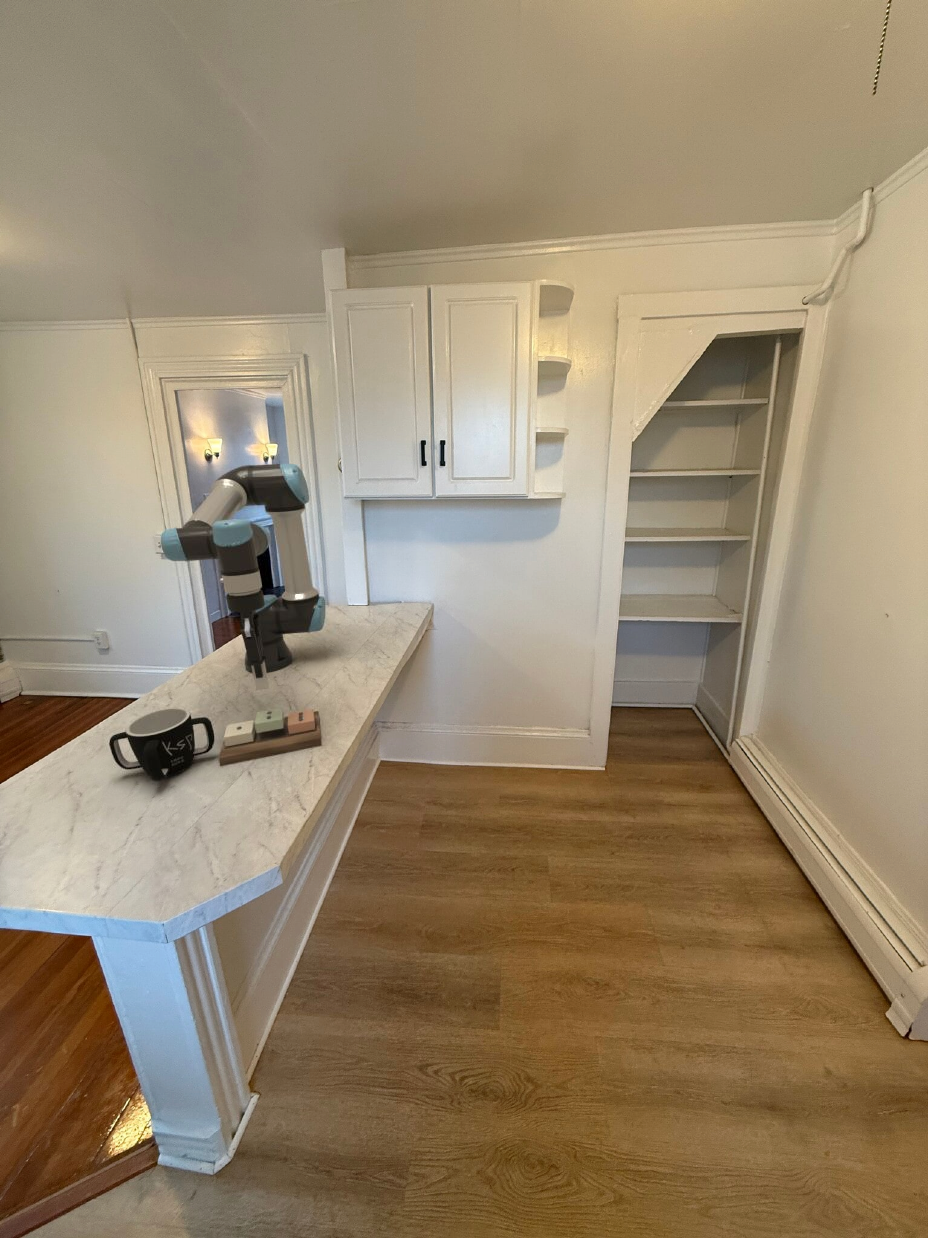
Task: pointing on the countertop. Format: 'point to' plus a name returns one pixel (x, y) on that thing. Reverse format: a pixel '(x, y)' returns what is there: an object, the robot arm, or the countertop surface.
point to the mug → (162, 742)
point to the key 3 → (301, 721)
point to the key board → (271, 743)
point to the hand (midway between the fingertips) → (262, 688)
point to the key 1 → (239, 733)
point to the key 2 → (269, 720)
